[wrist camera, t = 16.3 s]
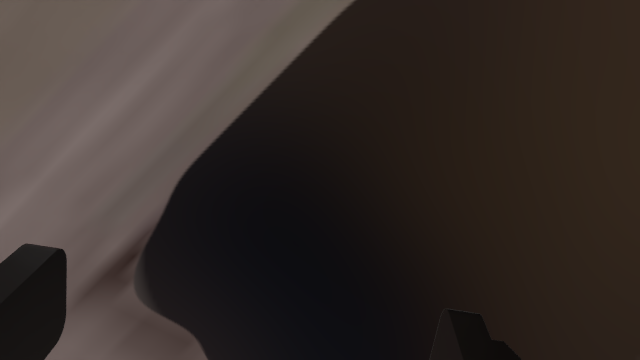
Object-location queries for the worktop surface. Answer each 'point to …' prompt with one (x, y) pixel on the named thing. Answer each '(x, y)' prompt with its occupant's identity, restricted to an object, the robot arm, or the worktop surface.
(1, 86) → the worktop surface
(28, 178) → the worktop surface
